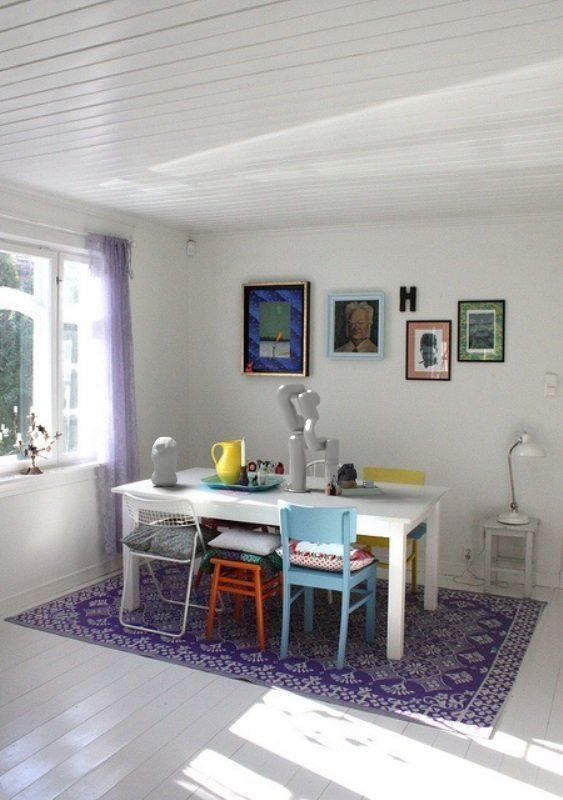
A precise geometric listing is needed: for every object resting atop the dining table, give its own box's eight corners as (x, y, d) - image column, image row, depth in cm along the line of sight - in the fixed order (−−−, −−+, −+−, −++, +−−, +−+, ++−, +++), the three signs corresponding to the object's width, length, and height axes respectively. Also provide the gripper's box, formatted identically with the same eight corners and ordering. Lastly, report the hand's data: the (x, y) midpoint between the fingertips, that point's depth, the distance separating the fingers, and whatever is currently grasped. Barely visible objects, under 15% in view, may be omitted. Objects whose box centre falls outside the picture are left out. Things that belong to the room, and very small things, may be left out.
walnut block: (344, 494, 401) (344, 483, 400) (340, 491, 408) (341, 480, 407) (356, 493, 402) (357, 482, 402) (353, 491, 409) (353, 480, 408)
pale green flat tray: (341, 496, 398) (341, 489, 398) (336, 492, 410) (336, 485, 409) (381, 495, 402) (381, 488, 402) (374, 491, 414) (374, 484, 413)
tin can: (364, 493, 403) (364, 482, 403) (361, 491, 409) (361, 480, 409) (375, 493, 404) (375, 482, 404) (371, 491, 410) (372, 480, 410)
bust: (181, 483, 433) (181, 435, 432) (172, 491, 407) (172, 440, 405) (156, 482, 434) (156, 434, 432) (145, 490, 408) (145, 439, 406)
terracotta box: (327, 496, 397) (327, 487, 397) (324, 495, 402) (325, 485, 402) (338, 496, 398) (338, 487, 398) (335, 494, 403) (335, 485, 403)
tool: (350, 486, 412) (345, 461, 418) (337, 498, 428) (331, 473, 434) (360, 486, 414) (354, 461, 420) (346, 497, 430) (341, 473, 436)
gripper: (321, 459, 407) (321, 492, 408) (329, 464, 390) (328, 498, 391) (334, 459, 408) (334, 492, 409) (342, 463, 391) (342, 498, 392)
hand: (331, 494), depth 400 cm, fingers closed on terracotta box, 4 cm apart
